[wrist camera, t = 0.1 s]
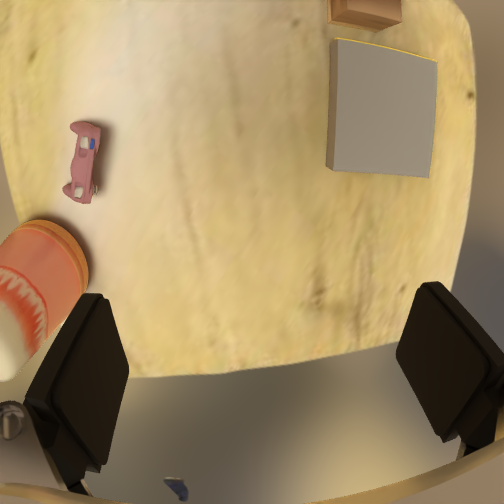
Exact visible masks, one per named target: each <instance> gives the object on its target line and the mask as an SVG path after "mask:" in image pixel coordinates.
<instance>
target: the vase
mask: <svg viewBox="0 0 504 504" xmlns="http://www.w3.org/2000/svg"><path fill="white" fill-rule="evenodd" d="M87 285H88V266H87V262H86V259H85V256H84V253H83V251H82V249H81V247H80V246H79V244H78V243H77V241H76V240H75V239H74V237H73V236H72V235H71V234H70V233H69V232H68V231H66V230H65V229H64V228H62V227H61V226H59V225H57V224H55V223H53V222H50V221H46V220H32V221H28V222H25V223H23V224H22V225H20V226H19V227H17V228H16V229H15V230H14V231H13V232H12V233H11V234H10V235H9V236H8V237H7V238H6V239H5V240H4V241H3V243H2V244H1V245H0V381H1V382H3V381H8V380H11V379H12V378H14V377H15V376H16V375H17V374H18V373H19V372H20V371H21V370H22V369H23V367H24V366H25V365H26V364H27V362H28V361H29V360H30V359H31V358H32V357H33V355H34V354H35V353H36V352H37V351H38V349H39V348H40V347H41V346H42V345H43V344H44V342H45V341H46V340H47V339H48V338H49V337H50V336H51V335H52V333H53V332H54V331H55V330H56V329H57V328H58V327H59V326H60V324H61V323H62V322H63V321H64V320H65V319H66V318H67V317H68V316H69V314H70V313H71V311H72V309H73V308H74V306H75V304H76V303H77V301H78V300H79V298H80V296H81V295H82V294H83V293H85V292H86V289H87Z"/></svg>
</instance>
